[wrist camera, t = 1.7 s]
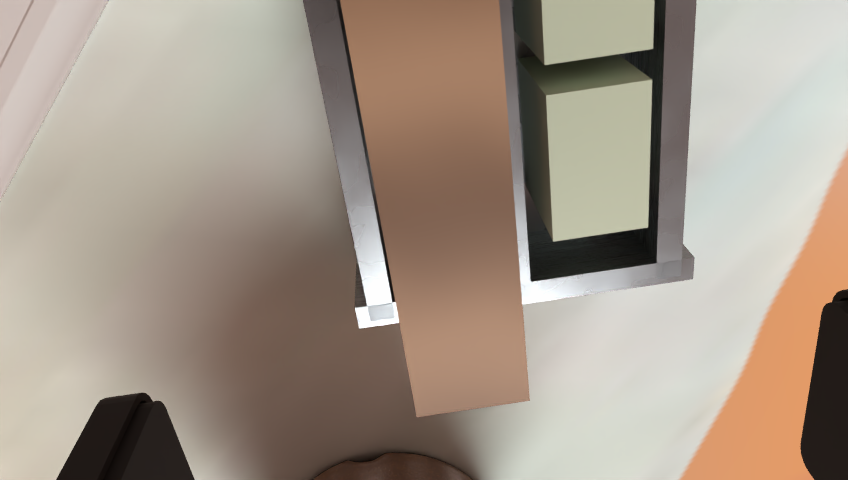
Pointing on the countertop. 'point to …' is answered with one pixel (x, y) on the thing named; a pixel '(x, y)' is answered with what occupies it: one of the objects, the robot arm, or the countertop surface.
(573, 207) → the offcut
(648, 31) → the offcut
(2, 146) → the baseboard
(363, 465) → the plant pot
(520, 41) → the rack
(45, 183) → the countertop surface
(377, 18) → the walnut board
